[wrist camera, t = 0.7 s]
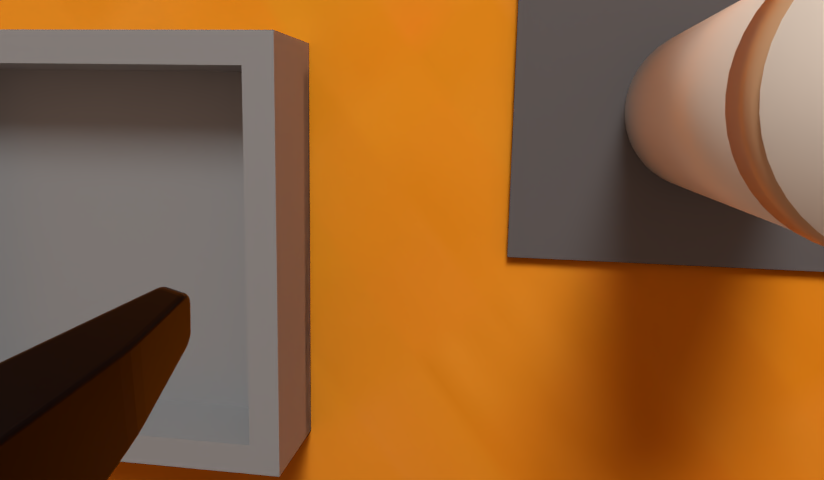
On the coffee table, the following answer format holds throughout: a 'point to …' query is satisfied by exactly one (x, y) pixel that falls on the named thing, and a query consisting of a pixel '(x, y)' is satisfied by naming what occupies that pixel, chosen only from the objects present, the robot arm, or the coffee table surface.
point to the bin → (167, 220)
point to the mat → (614, 149)
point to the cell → (740, 111)
